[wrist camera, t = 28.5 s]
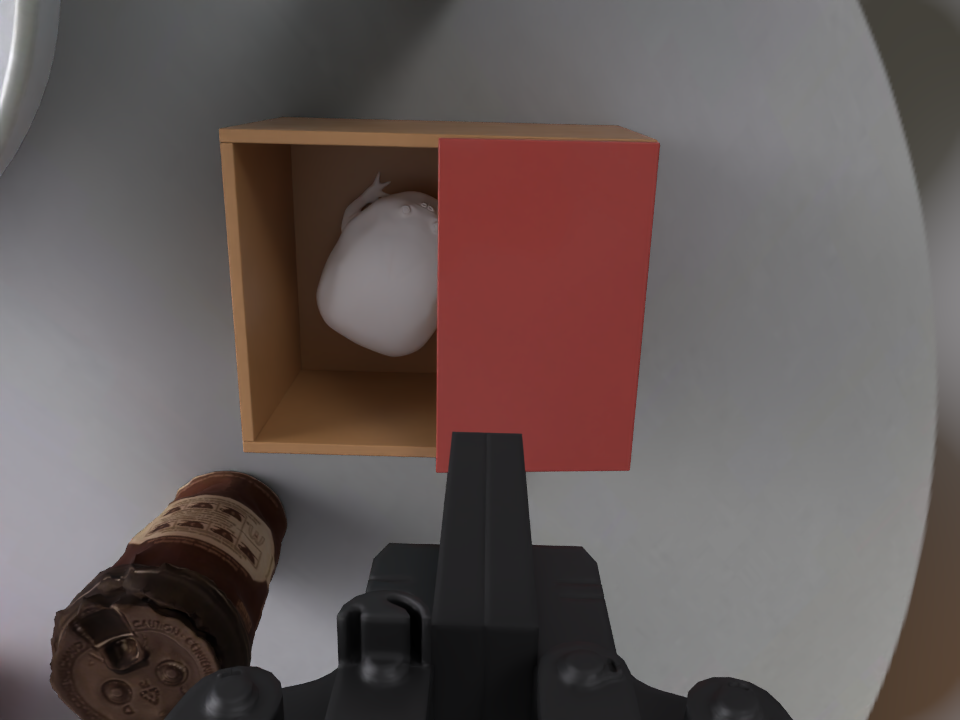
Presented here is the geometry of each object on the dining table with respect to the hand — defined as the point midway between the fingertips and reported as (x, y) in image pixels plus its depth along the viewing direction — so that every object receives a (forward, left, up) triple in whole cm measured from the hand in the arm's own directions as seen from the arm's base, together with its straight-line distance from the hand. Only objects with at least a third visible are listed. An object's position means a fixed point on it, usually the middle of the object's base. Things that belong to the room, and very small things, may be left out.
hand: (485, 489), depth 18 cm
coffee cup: (+14, +15, -25) cm, 32 cm away
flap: (-2, 0, -14) cm, 14 cm away
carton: (+2, 0, -24) cm, 24 cm away
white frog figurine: (+4, 0, -24) cm, 25 cm away
